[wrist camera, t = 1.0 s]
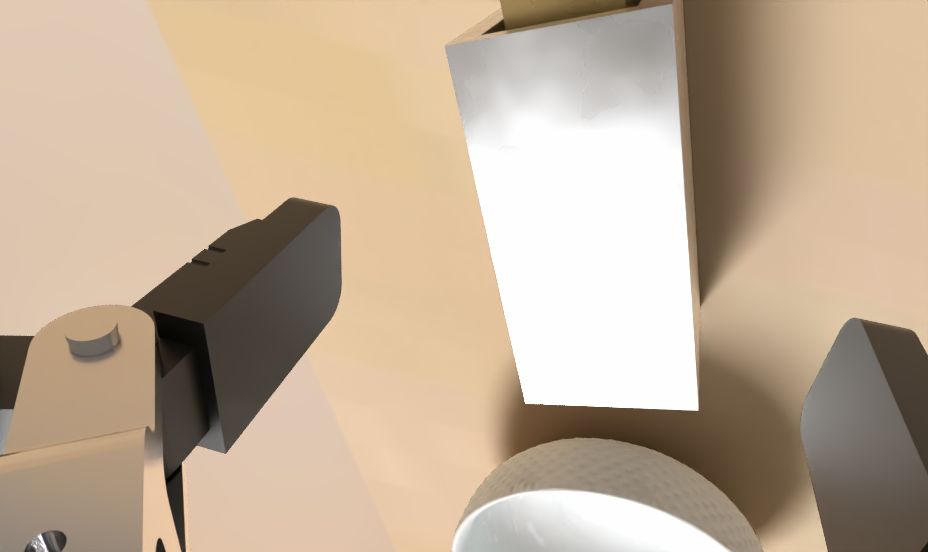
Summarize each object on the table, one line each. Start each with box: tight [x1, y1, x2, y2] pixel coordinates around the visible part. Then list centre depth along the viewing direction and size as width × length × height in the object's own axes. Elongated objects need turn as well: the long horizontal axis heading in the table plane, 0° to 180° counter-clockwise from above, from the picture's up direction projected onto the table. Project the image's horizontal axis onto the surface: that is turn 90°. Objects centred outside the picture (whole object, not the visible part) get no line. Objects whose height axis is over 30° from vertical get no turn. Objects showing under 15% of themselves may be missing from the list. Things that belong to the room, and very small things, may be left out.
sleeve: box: [445, 0, 700, 411], centre depth 26 cm, size 7×15×7 cm, turn 13°
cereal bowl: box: [452, 437, 764, 552], centre depth 37 cm, size 17×17×7 cm
